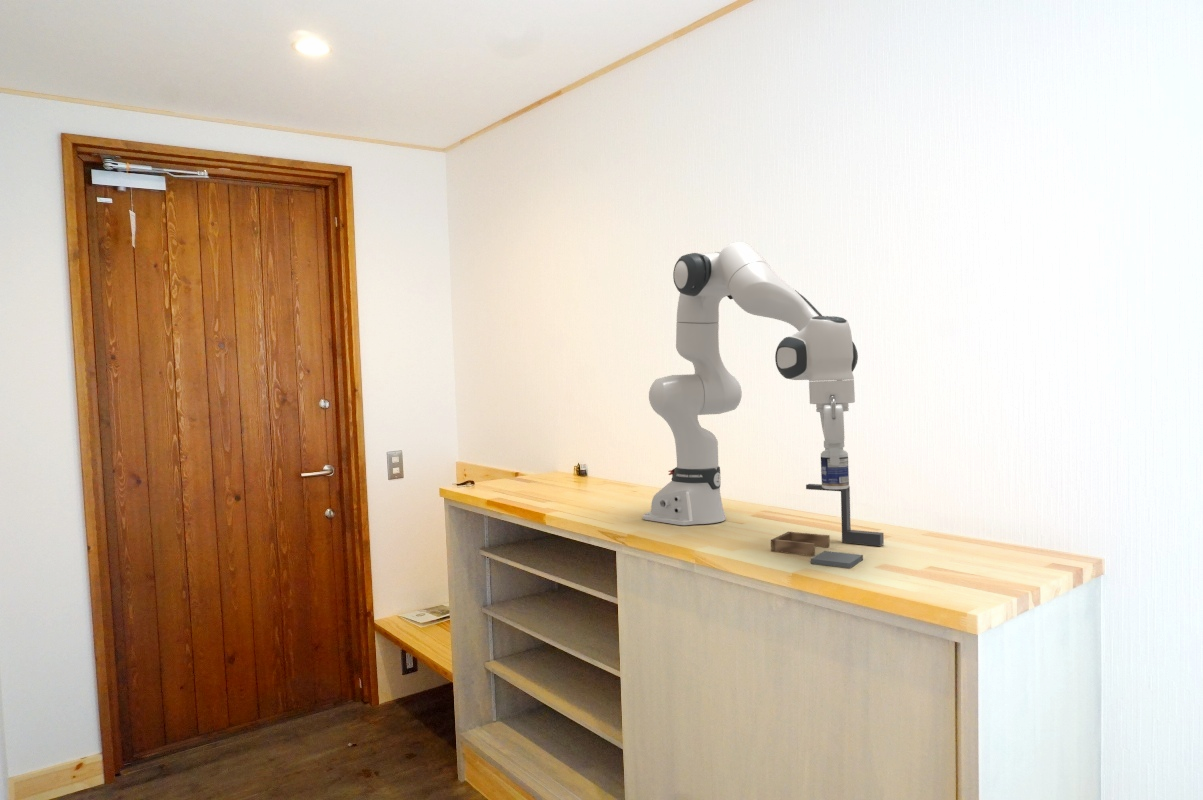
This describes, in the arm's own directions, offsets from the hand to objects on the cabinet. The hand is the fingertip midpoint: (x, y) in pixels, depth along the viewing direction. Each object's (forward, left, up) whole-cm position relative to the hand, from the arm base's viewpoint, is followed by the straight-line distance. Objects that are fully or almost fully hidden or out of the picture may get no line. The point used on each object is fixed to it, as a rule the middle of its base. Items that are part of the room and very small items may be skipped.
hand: (834, 462), depth 159 cm
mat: (0, 0, -20) cm, 20 cm away
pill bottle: (0, 0, -5) cm, 5 cm away
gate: (-4, +18, -20) cm, 27 cm away
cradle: (-10, +7, -20) cm, 24 cm away
